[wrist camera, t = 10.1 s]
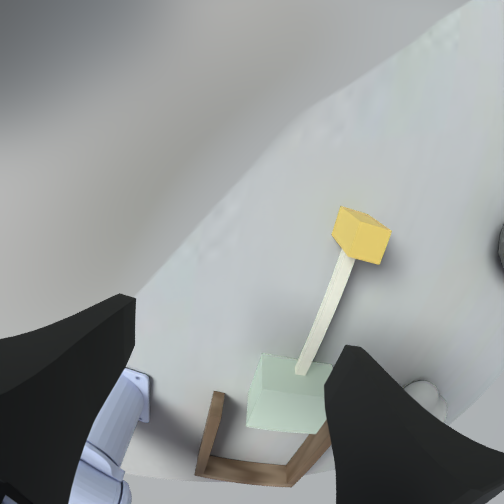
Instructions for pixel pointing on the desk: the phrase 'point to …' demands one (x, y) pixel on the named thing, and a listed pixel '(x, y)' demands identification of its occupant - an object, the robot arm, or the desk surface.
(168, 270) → the desk surface
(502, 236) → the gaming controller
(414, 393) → the smooth white sculpture
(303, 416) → the tethered block
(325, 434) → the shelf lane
